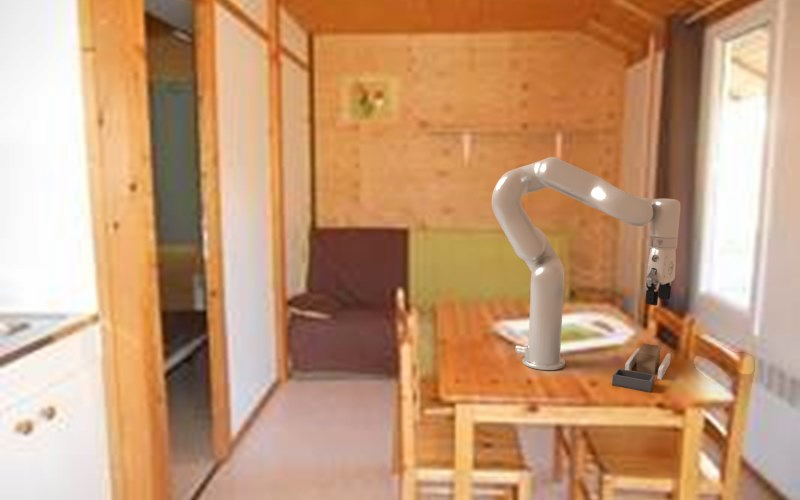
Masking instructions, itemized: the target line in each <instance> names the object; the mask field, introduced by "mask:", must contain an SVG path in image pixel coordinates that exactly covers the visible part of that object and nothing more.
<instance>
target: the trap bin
mask: <svg viewBox="0 0 800 500" xmlns="http://www.w3.org/2000/svg"><path fill="white" fill-rule="evenodd" d="M655 376H656V375H655V374H654V375H652V374H647V373H641V372H636V370H631V371H630V370H625V368H616V370H615V371H614V373H613V374H612V379H611V381H612V382H611V385H612V386H616V387H619V388H624V389H630V390H635V391H640V392H641V391H642V392H647V393H651V391H652V390H653V388H654V386H655Z"/></svg>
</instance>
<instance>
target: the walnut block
mask: <svg viewBox="0 0 800 500" xmlns="http://www.w3.org/2000/svg"><path fill="white" fill-rule="evenodd" d="M638 349H639V351H638V353H637V362H636V367H635V368H636V369H635V371H636V372H641V373H647V374H652V375H655V374H656V373H657V371H658V369H659V367H660V360H661V345H655V344H650V343H649V344H648V343H642V345H641V347H640V348H638Z"/></svg>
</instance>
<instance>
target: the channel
mask: <svg viewBox="0 0 800 500" xmlns="http://www.w3.org/2000/svg"><path fill="white" fill-rule="evenodd" d="M639 349H640V348H639V347H638V348H637V347H636V348H635V350H634V351H633V352H632V354H631V355H630V356H629V358H628V359H627V361H626V362H625V363H624V370H630V371H632V369H633V368H634V366H635V365H636V364H637V353H638V351H639ZM671 356H672V355H671V353H666V355H665V357H664V358H663V360H662V361H661V364H659V366H658V368H657V378H656V379H657V380H661V381H662V379H663V377H664V375H665V373H666V372H667V369H668V368H669V366H670V364H671Z"/></svg>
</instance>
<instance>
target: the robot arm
mask: <svg viewBox="0 0 800 500" xmlns="http://www.w3.org/2000/svg"><path fill="white" fill-rule="evenodd" d="M546 188H549V189H550V190H551V189H552V190H554V191H556V192H558V193H560V194H563V195H565V196H567V197H569V198H571V199H574V200H576V201H578V202H580V203H582V204H584V205H586V206H588V207H590V208H594V209H596V210H597V211H598V210H599V211H601V212H603V213H605V214H607V215H608V216H611V217H613V218H615V219H618V220H620V221H623V223H627V224H628V225H631V226H634V227H644V226H646V225H648V224H649V231H648V234H649V235H648V246H647V247H648V248H649V254H648V261H647V269H646V287H645V291H646V292H645V304H646V305H650V306H655V307H656V306H658V305H659V304H658V303H659V299H664V300H670V299H671V293H672V282H674V280H676V279H675V278H676V266H677V263H676V262H677V256H676V255H677V252H676V251H677V249H678V240H679V228H680V227H679V225H680V218H681V216H680V215H681V202H680V201H679V200H677V199H674V198H649V197H644V196H636V195H633V194H631V193H629V192H626V191H624V190H623V189H620V188H618V187H616V186H614V185H612V184H611V183H609V182H608V181H606V180H605V179H603V178H601V177H600V176H598V175H596V174H594V173H591V172H589V171H586V170H584V169H582V168H579V167H578V166H575V165H574V164H570V163H569V162H566V161H564V160H562V159H560V158H558V157H555V156H549V157H546V158H543V159H541V160H538V161H536V162H533V163H529V164H526V165H523V166H520V167H517V168H514V169H511V170H508V171H507V172H505V173H504V174H502V176H501V177H500V178H499V179H498V181H497V182H496V184H495V186H494V189H493V192H492V193H491V208H492V211H493V214H494V216H495V218H496V220H497V222H498V224H499V225H500V227H501V229H502V231H503V233H504V234H505V236H506V238H507V240H508V242H509V243H510V245H511V247H512V249H513V251H514V253H515V254H516V256H517V257H518V258H520V260H523V261H524V262H525V264H526V266H527V267H528V269H529V270H530V272H531V275H530V282H529V283H530V288H529V289H530V297H529V321H528V322H529V323H528V324H529V326H528V345H526V346H523V345H518V344H516V345H515V349H514V350H515V352H516V354H519V355H523V356H522V363H523V364H524V366H527V367H529V368H531V369H534V370H535V369H536V370H540V371H556V370H560V369H562V368H564V367H565V366H566V360H565V359H564V358H562V357H561V346H562V342H561V341H562V327H563V307H564V291H565V267H564V265H563V263H562V261H561V259H560V257H559V256H558V254H557V253H556V251H555V249H554V248H553V246H552V244H551V243H550V240H549V239H548V237H547V236H546V234H545V233H544V232H543V230H541V229H540V228H539V227H537V226H535V225H534V223H533V222H532V220H531V218H530V217H529V215H528V213H527V212H526V210H525V208H524V207H523V204H522V198H523V197H524V196H525V195H528V194H531V193H534V192H537V191H540V190H543V189H546Z"/></svg>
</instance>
